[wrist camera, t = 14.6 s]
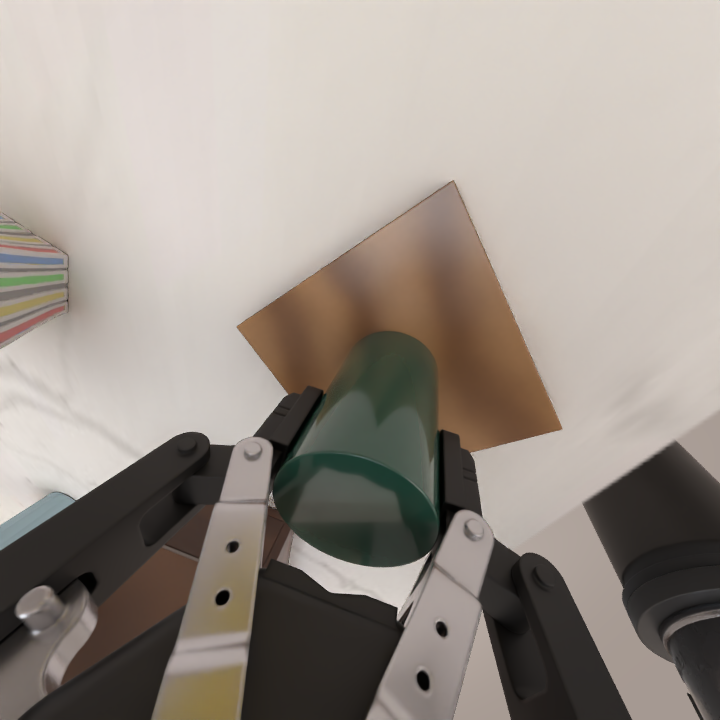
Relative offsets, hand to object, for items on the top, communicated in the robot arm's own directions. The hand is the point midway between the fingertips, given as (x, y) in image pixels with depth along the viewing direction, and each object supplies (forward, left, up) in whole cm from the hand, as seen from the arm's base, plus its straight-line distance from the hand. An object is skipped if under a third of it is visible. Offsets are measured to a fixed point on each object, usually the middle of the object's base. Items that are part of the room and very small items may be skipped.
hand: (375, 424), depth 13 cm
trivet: (0, 0, -5) cm, 5 cm away
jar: (0, 0, -4) cm, 4 cm away
